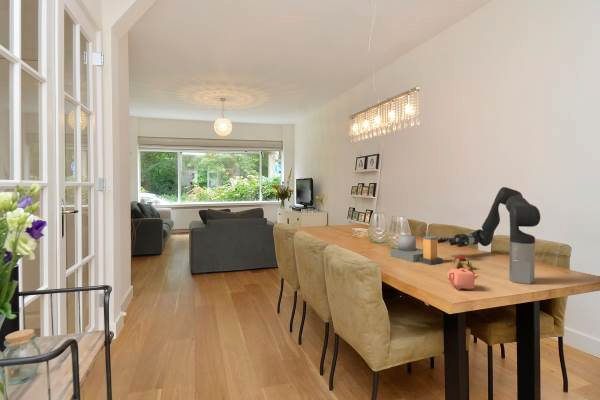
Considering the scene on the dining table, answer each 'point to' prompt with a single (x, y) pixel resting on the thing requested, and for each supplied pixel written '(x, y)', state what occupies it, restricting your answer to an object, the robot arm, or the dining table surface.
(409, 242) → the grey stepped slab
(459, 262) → the red flower
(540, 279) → the dining table surface
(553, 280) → the dining table surface
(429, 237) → the orange tall block
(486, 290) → the dining table surface
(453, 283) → the pink cube teapot
